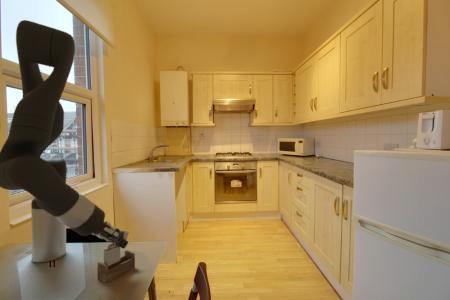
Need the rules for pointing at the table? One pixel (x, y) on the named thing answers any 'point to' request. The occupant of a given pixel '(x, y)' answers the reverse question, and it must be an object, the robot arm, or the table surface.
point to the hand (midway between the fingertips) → (123, 244)
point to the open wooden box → (116, 267)
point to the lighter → (113, 252)
